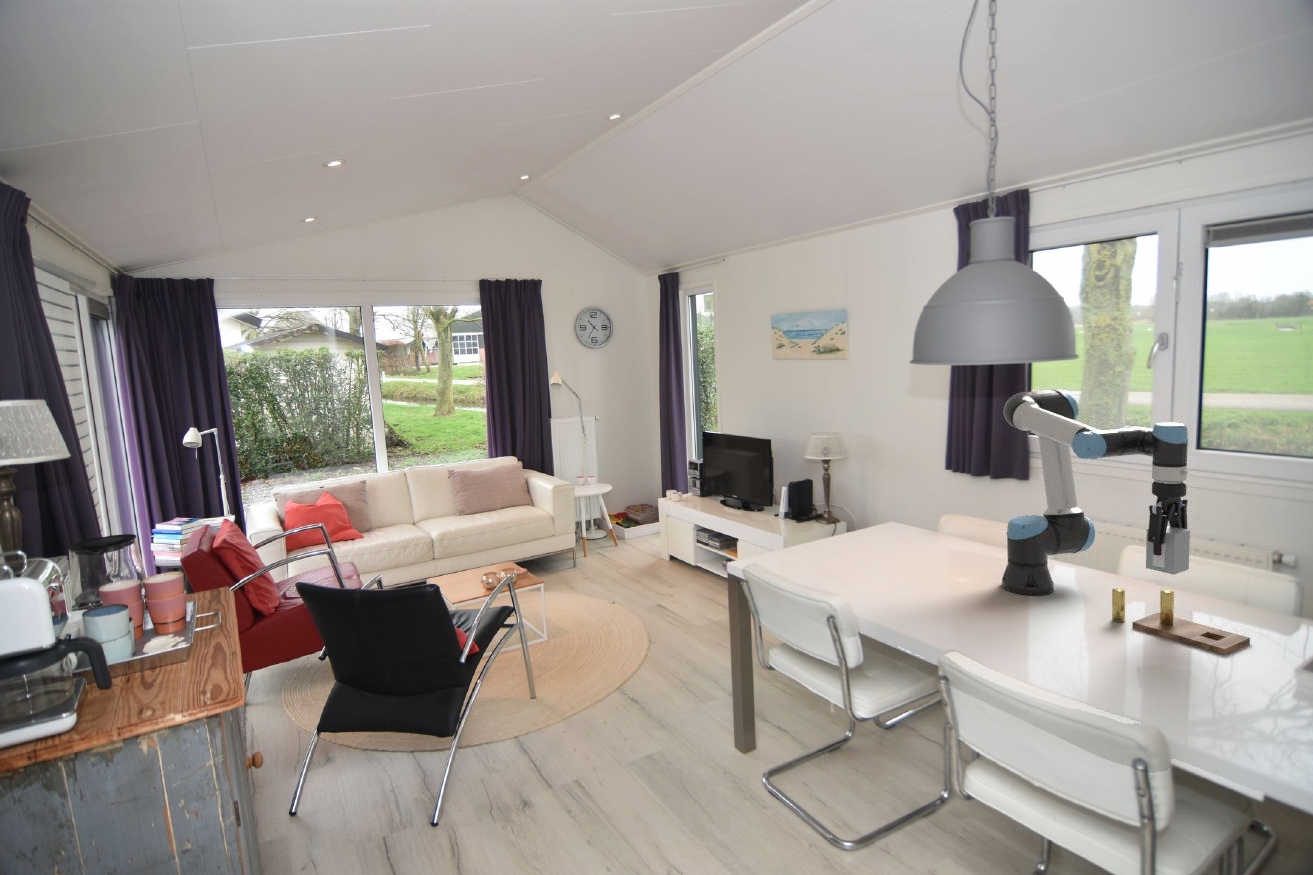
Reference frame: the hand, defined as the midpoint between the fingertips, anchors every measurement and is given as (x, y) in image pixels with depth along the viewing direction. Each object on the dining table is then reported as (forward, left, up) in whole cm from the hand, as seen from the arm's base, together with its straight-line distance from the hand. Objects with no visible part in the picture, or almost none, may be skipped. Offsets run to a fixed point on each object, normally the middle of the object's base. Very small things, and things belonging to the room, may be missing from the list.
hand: (1167, 563), depth 192 cm
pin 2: (0, 0, -17) cm, 17 cm away
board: (+6, 0, -18) cm, 19 cm away
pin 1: (-10, -4, -18) cm, 22 cm away
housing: (0, 0, -1) cm, 1 cm away
